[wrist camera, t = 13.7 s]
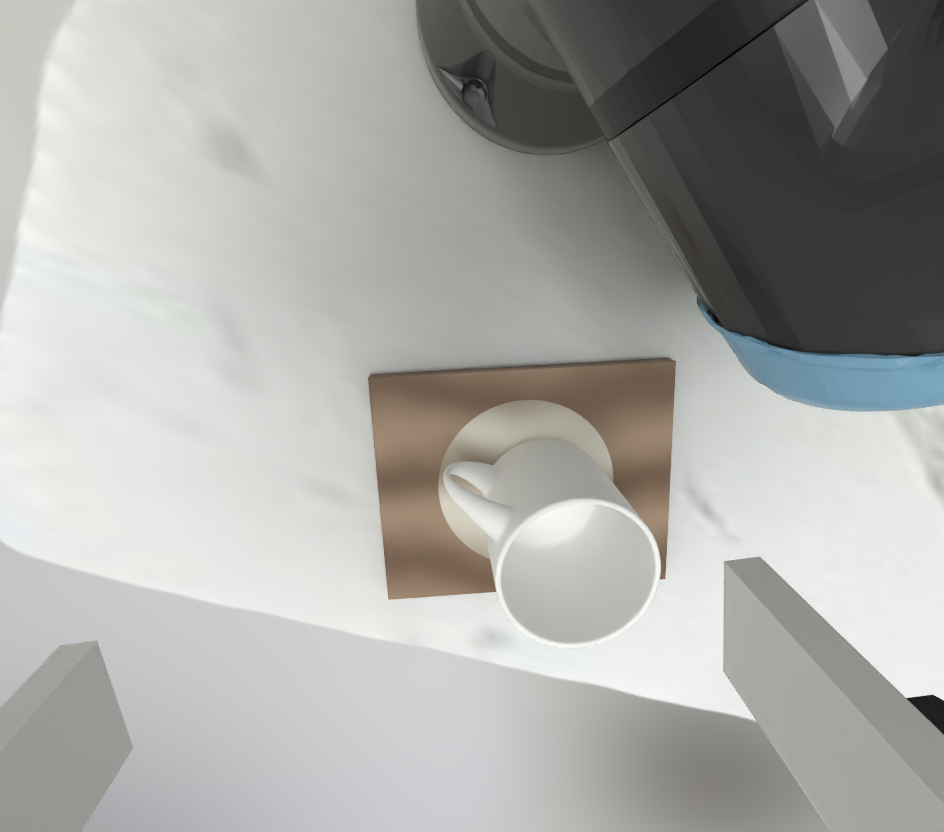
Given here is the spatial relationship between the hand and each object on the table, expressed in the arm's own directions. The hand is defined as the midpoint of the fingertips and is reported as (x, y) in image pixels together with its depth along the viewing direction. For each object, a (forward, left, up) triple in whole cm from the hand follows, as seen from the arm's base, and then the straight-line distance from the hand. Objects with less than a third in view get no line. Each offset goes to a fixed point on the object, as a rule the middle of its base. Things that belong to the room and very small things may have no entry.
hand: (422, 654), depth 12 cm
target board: (+7, +6, -28) cm, 29 cm away
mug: (+7, +6, -27) cm, 28 cm away
